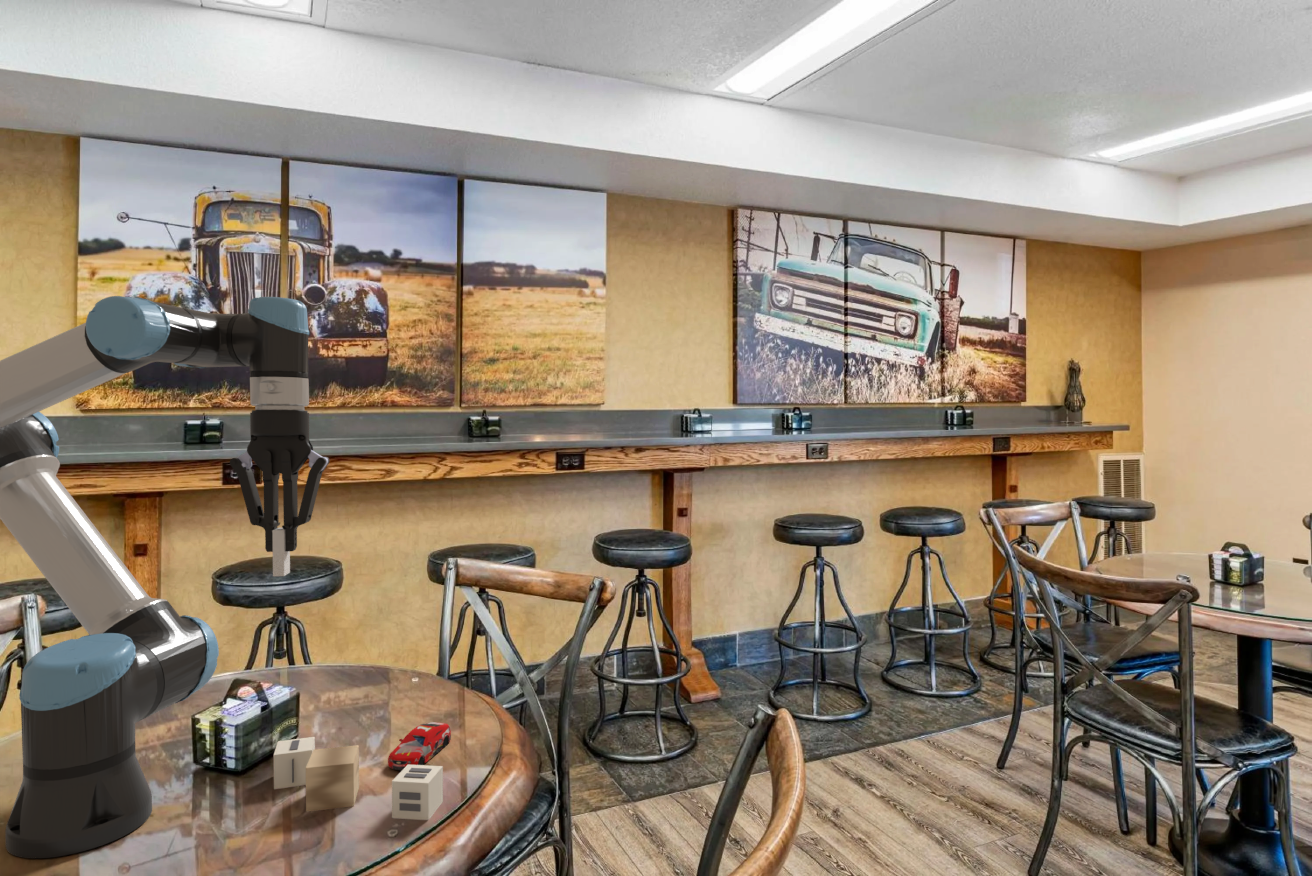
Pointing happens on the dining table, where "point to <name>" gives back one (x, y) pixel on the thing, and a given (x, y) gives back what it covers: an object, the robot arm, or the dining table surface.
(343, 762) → the plain block
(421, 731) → the race car
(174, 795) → the dining table surface
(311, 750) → the marked block
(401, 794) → the marked block
